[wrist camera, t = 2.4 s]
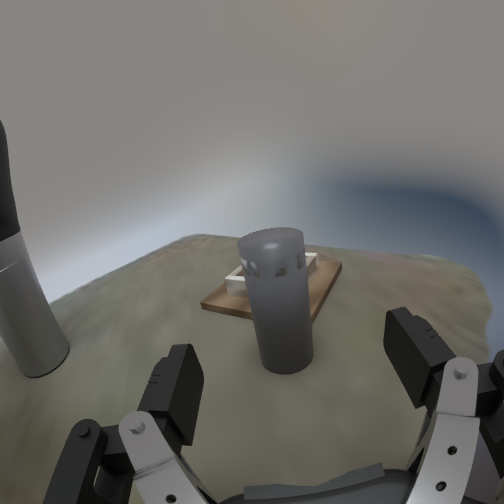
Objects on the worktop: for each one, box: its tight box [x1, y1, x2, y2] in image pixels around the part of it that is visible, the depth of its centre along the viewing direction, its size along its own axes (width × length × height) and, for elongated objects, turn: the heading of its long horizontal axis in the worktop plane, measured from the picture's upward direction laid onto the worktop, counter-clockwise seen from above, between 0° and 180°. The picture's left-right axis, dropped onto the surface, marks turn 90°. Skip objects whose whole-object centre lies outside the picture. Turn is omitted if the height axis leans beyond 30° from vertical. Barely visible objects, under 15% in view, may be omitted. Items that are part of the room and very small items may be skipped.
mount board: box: [200, 253, 342, 324], centre depth 37 cm, size 15×15×4 cm
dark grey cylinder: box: [238, 228, 313, 374], centre depth 23 cm, size 5×5×12 cm
